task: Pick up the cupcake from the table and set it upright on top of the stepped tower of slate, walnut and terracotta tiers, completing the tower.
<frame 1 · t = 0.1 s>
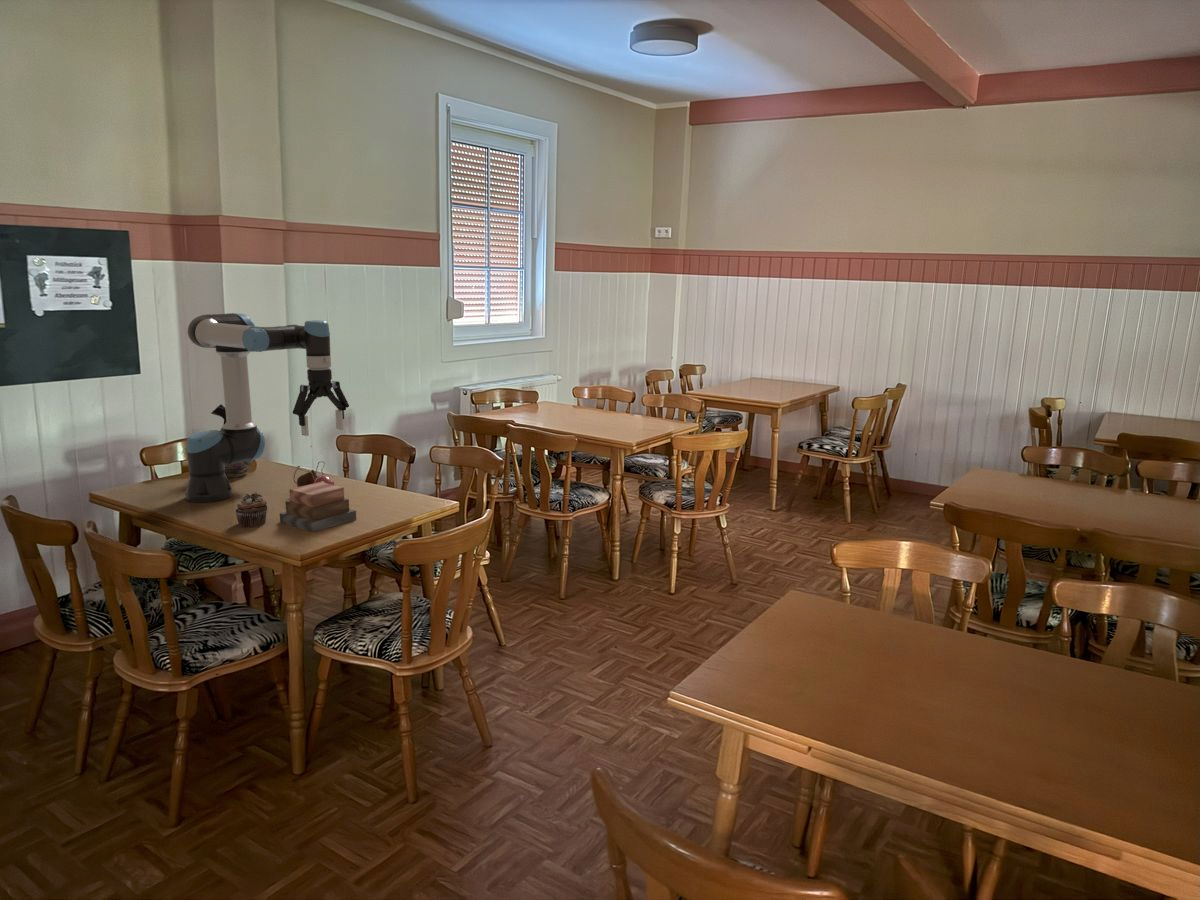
hand: (322, 432, 274), 28 cm above the table, tool pointing down, fingers open, 13 cm apart
tower: (318, 520, 271), on the table
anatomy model: (318, 497, 299), on the table
cupcake: (252, 524, 267), on the table
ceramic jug: (235, 475, 328), on the table
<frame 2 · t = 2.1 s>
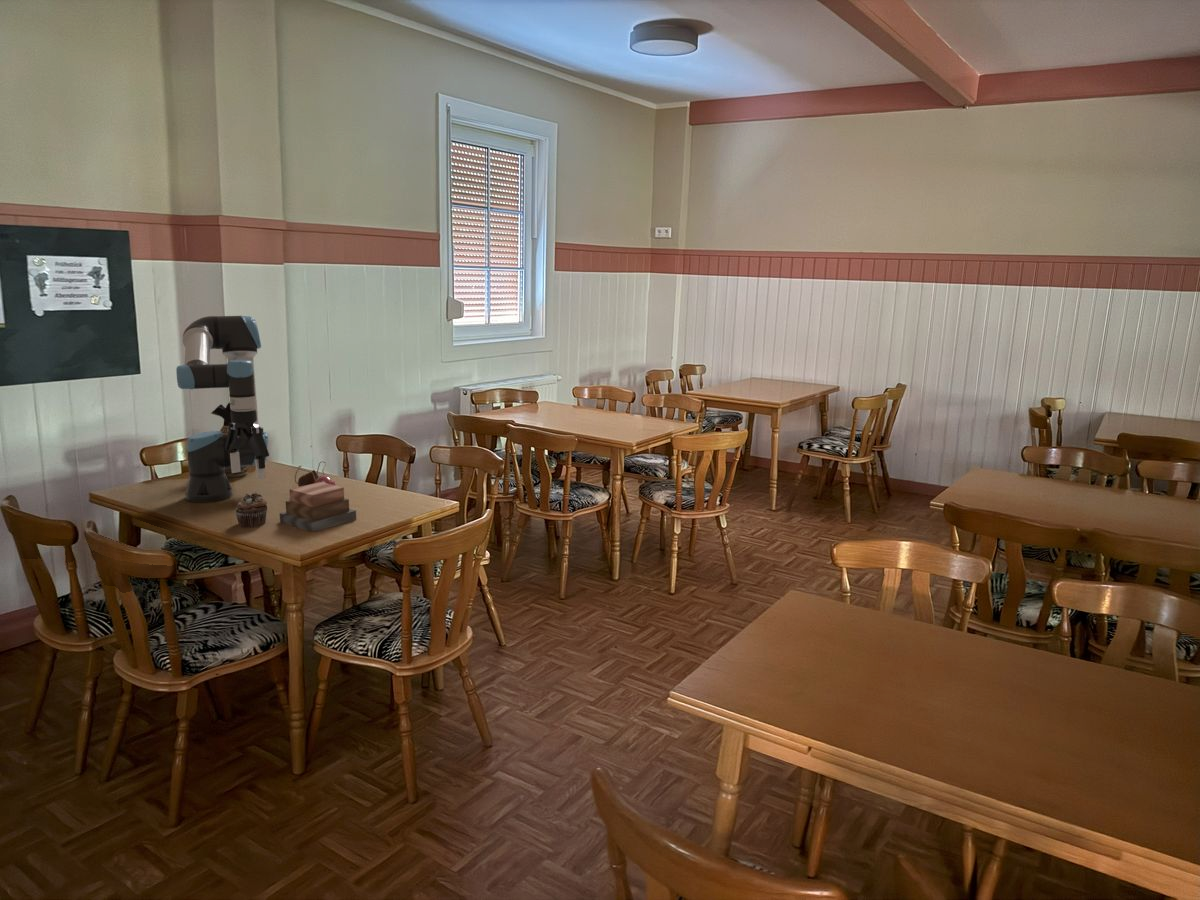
hand: (248, 475, 263), 16 cm above the table, tool pointing down, fingers open, 13 cm apart
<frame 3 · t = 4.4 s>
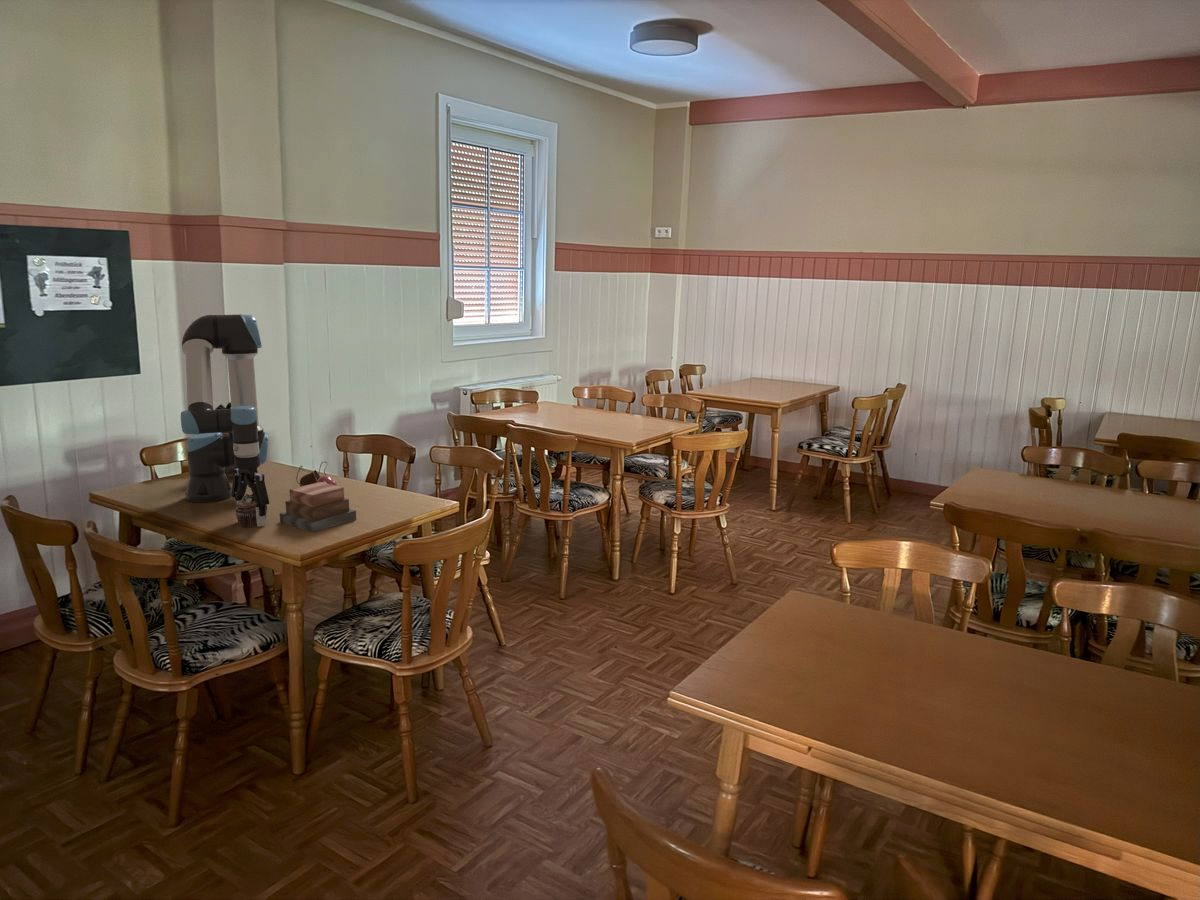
hand: (251, 522, 267), 0 cm above the table, tool pointing down, fingers closed on cupcake, 10 cm apart
cupcake: (252, 524, 267), on the table, touching gripper
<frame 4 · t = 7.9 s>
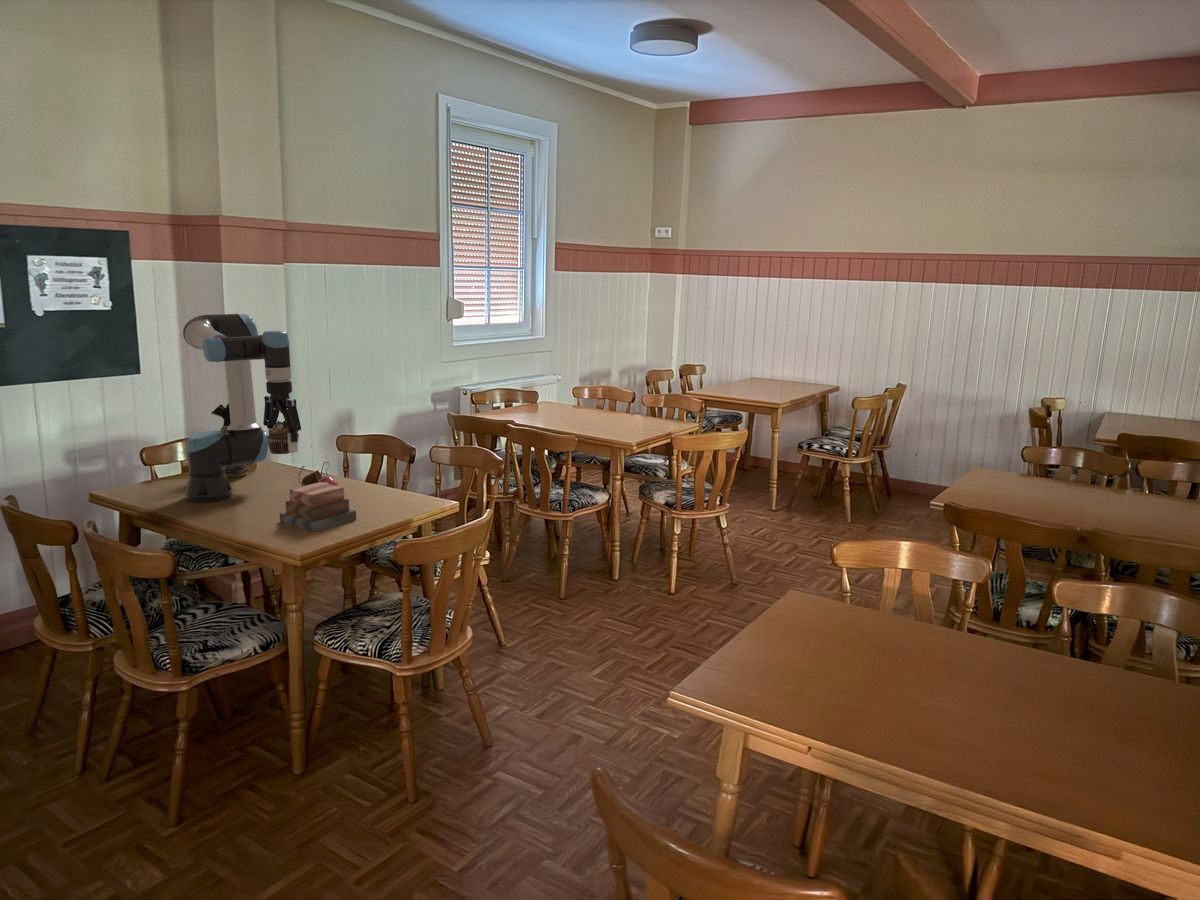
hand: (283, 450, 264), 24 cm above the table, tool pointing down, fingers closed on cupcake, 10 cm apart
cupcake: (283, 452, 264), point 24 cm above the table, touching gripper
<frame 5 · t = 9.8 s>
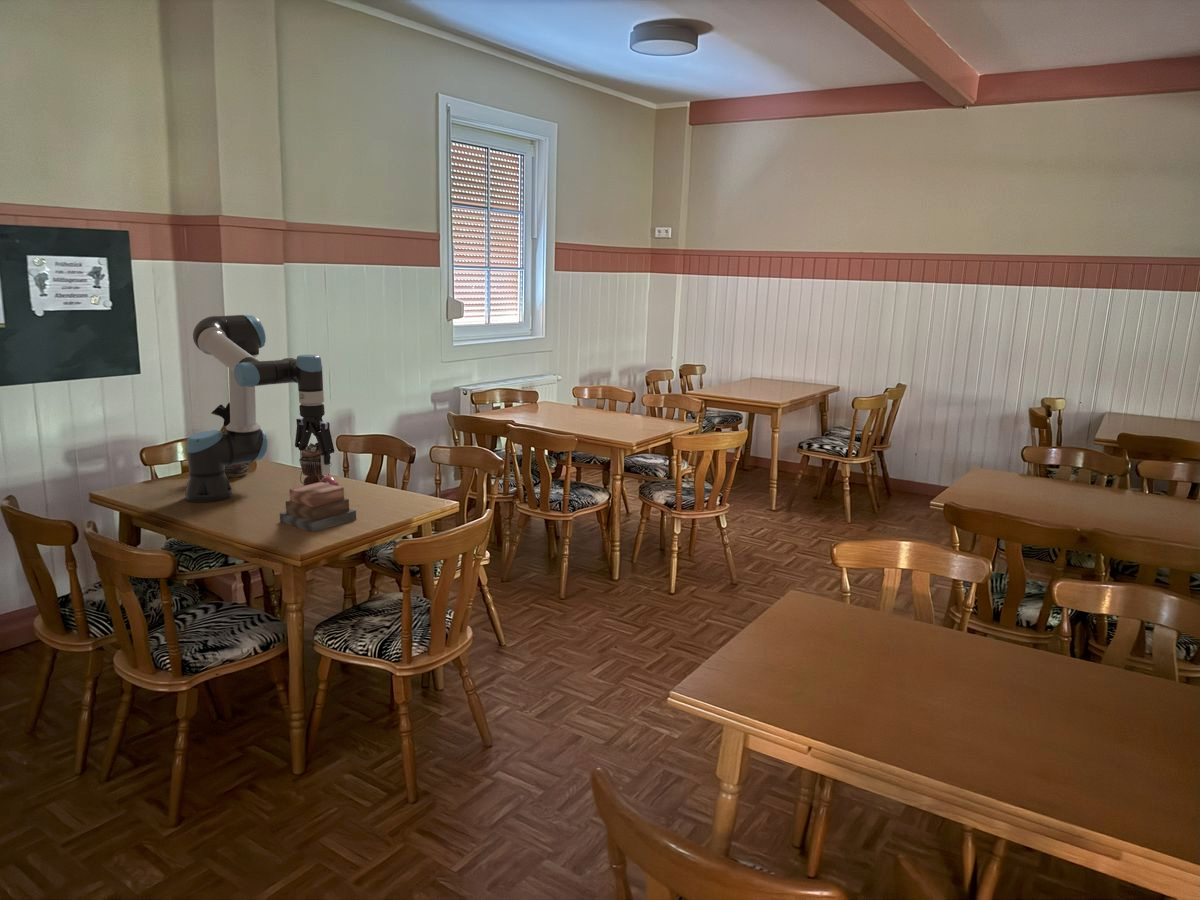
hand: (315, 471, 268), 17 cm above the table, tool pointing down, fingers closed on cupcake, 10 cm apart
cupcake: (315, 473, 268), point 16 cm above the table, touching gripper
when the fingers open (13 cm above the table, at t = 11.4 s): cupcake drops 2 cm, resting on tower.
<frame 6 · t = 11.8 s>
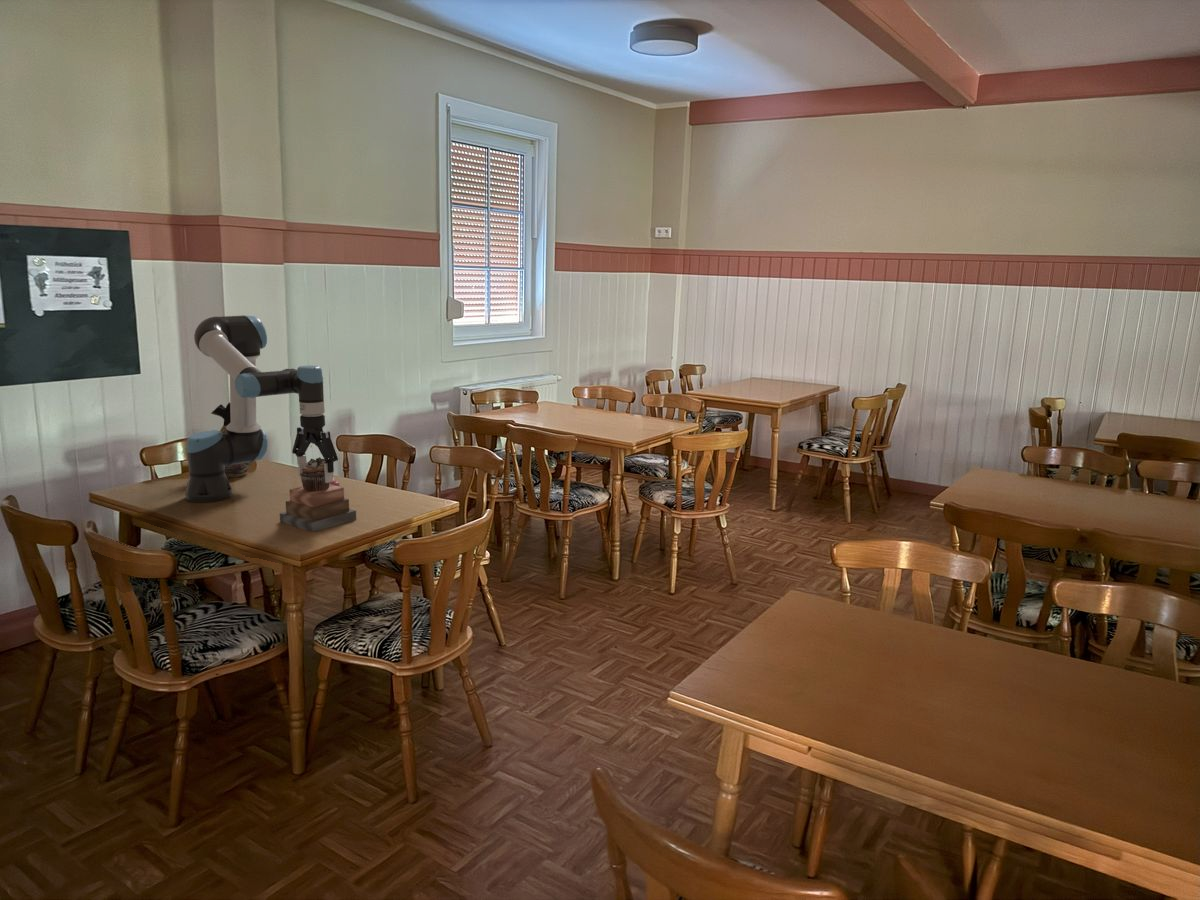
hand: (316, 478, 268), 14 cm above the table, tool pointing down, fingers open, 13 cm apart
cupcake: (316, 488, 269), point 11 cm above the table, touching tower
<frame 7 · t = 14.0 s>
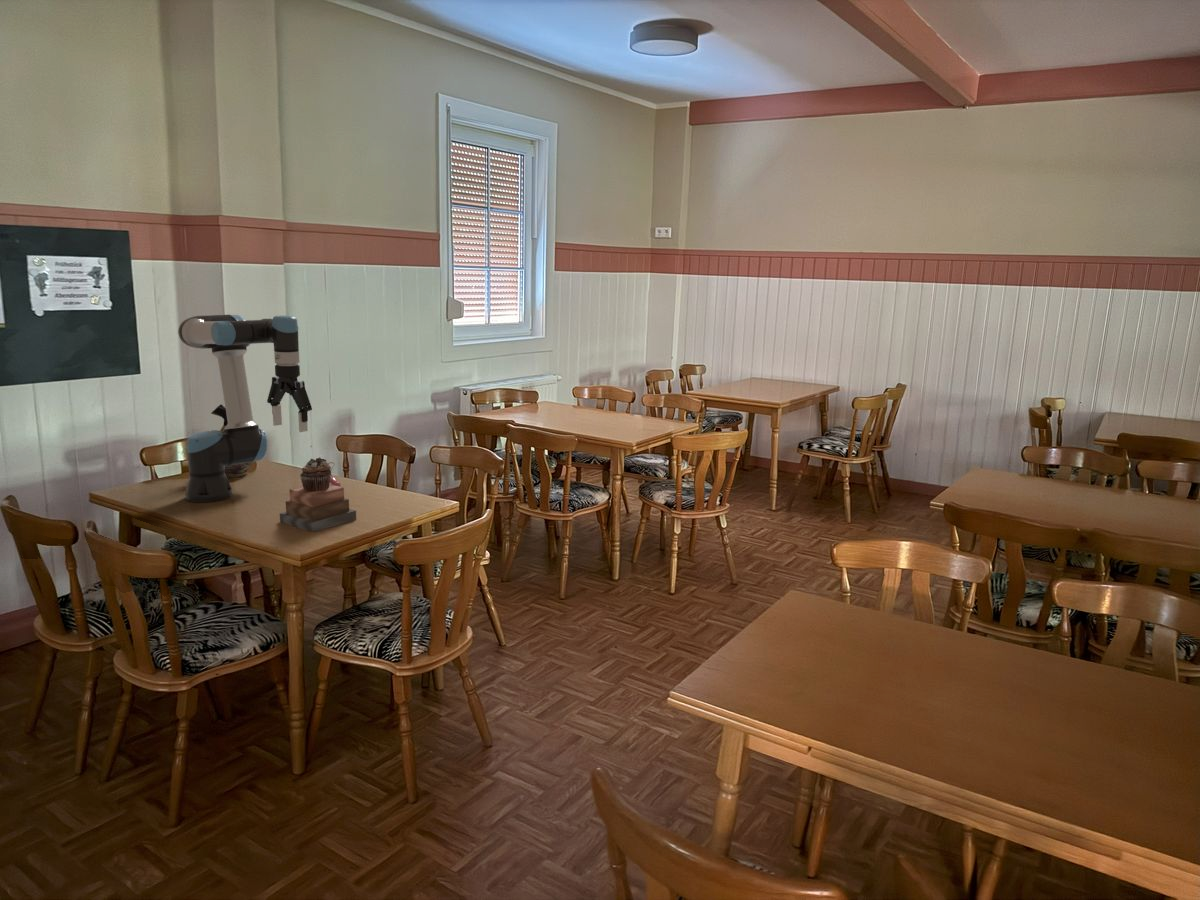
hand: (290, 428, 272), 29 cm above the table, tool pointing down, fingers open, 13 cm apart
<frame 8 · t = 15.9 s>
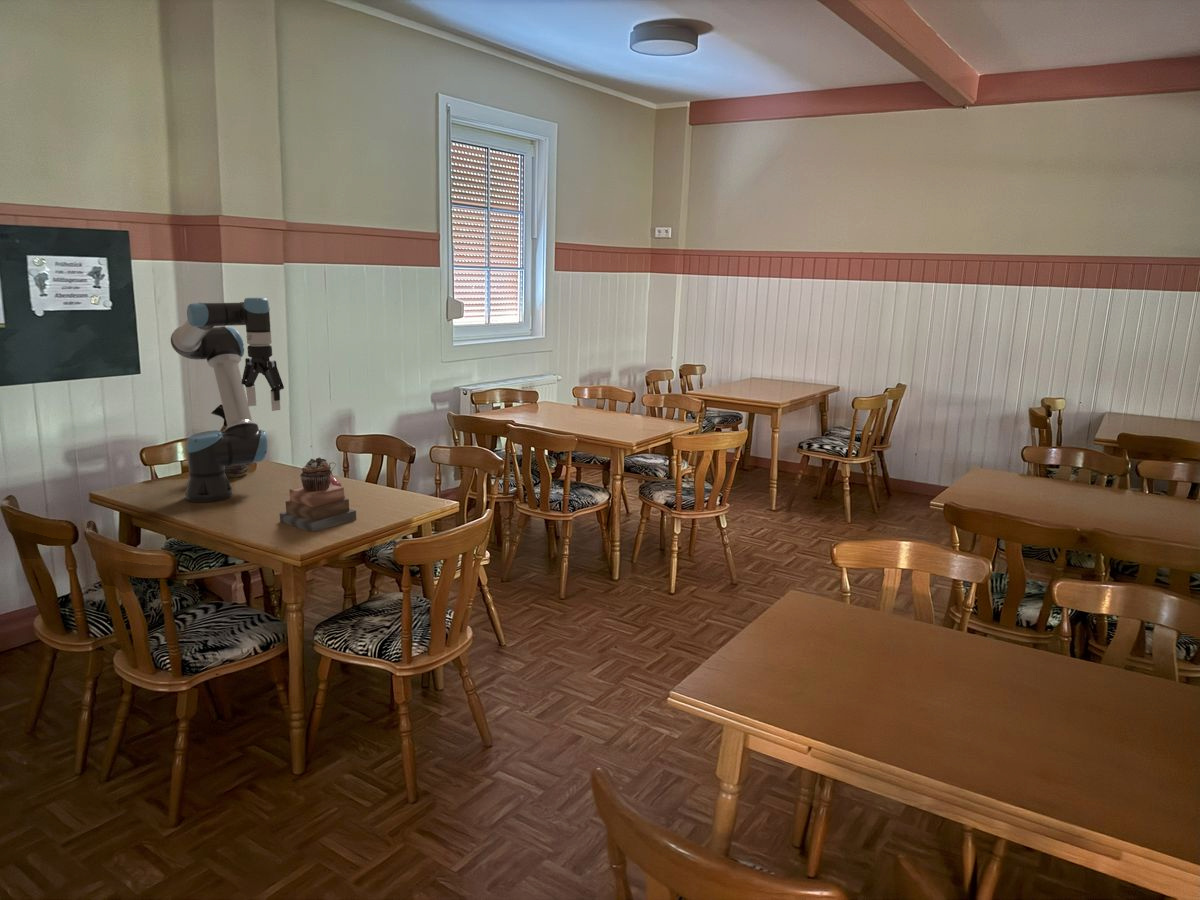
hand: (264, 408, 278), 35 cm above the table, tool pointing down, fingers open, 13 cm apart
at the end: cupcake inside the target area on the tower (0.1 cm from its centre), point 10.8 cm above the tower's base; cupcake tilted 0°; the gripper is holding nothing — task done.
